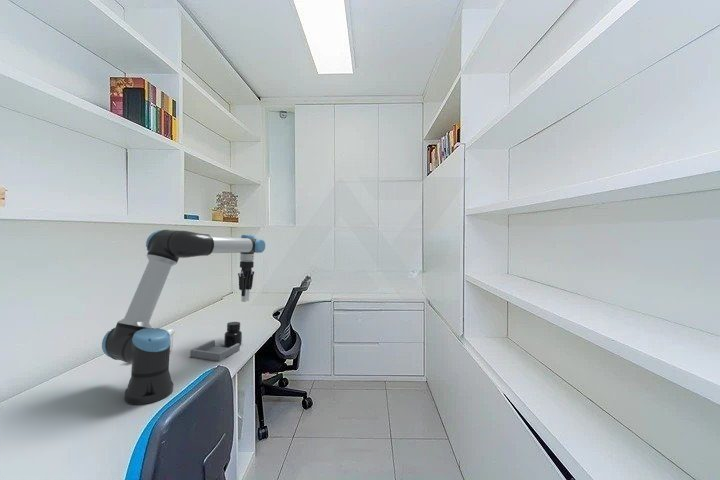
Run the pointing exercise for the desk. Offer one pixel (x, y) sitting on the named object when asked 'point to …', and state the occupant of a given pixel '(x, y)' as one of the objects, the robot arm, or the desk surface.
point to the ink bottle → (233, 334)
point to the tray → (213, 351)
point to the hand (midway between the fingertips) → (245, 301)
